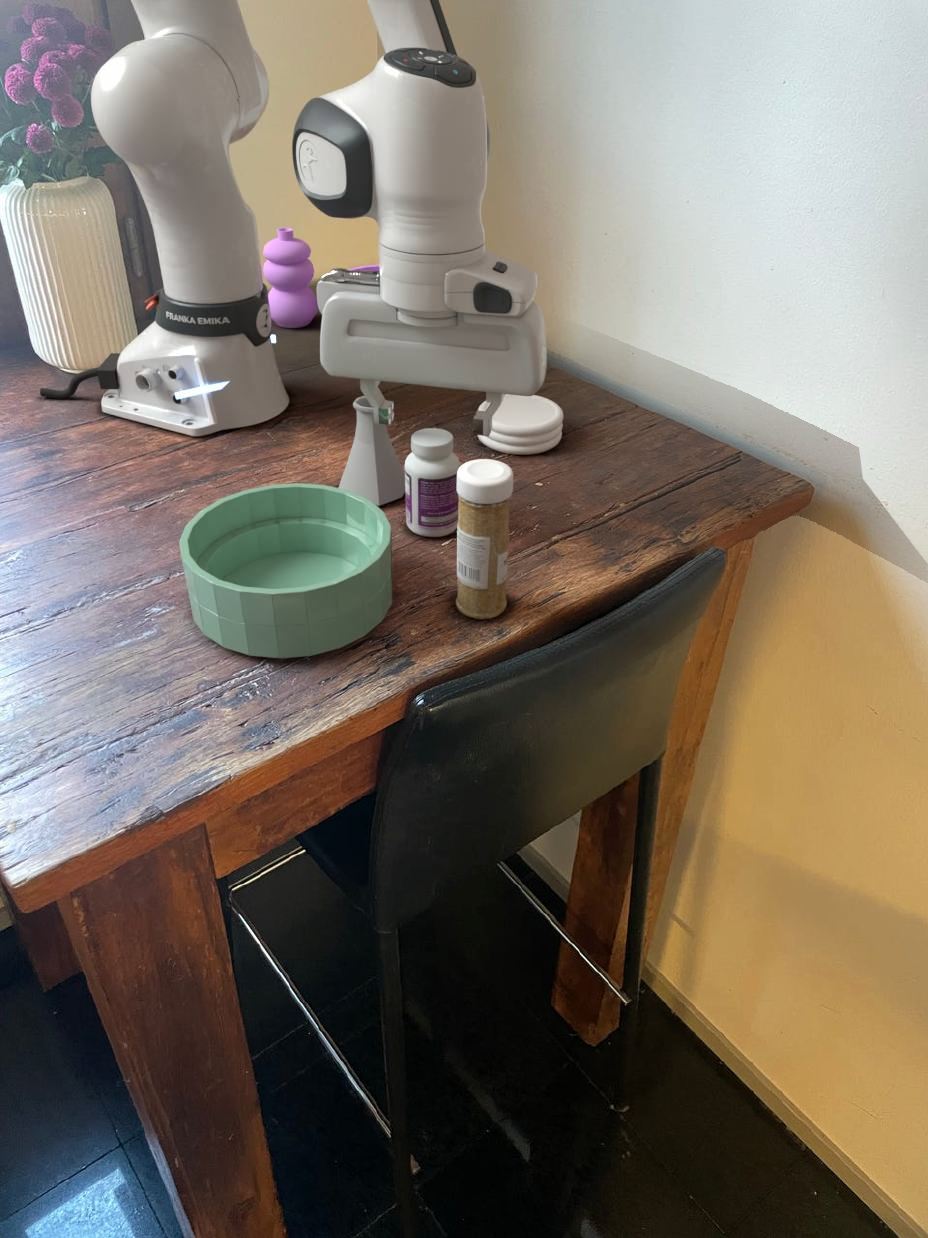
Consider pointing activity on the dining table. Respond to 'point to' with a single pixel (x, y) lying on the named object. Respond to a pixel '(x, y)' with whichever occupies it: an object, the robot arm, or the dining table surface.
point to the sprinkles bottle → (483, 537)
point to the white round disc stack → (524, 425)
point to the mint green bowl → (288, 569)
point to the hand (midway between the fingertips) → (432, 427)
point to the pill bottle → (431, 483)
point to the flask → (372, 460)
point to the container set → (292, 280)
